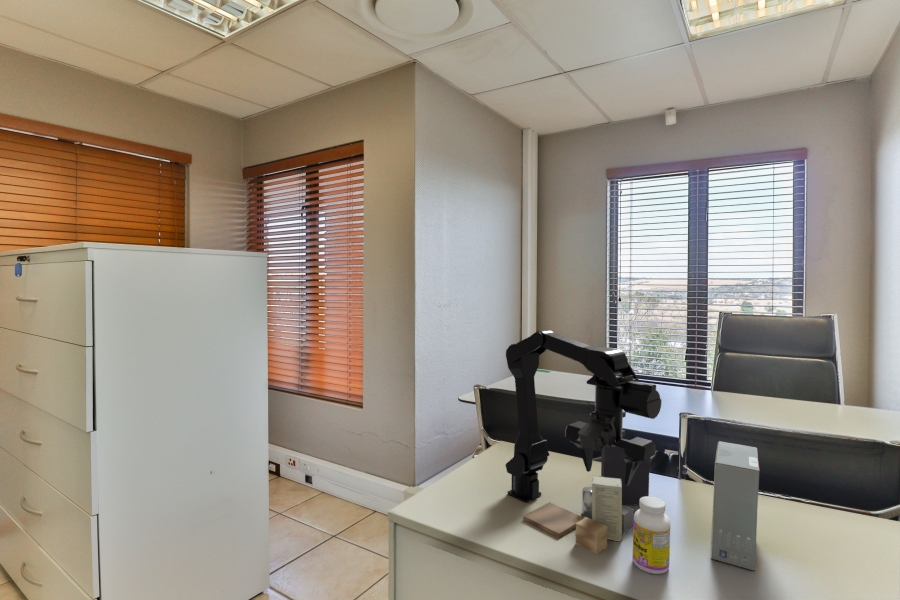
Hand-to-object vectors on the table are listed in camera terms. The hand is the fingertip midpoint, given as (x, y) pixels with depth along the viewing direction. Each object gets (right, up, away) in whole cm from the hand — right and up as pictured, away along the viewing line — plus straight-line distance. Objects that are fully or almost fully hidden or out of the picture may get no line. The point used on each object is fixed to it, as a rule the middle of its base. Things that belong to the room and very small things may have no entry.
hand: (607, 477), depth 102 cm
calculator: (+10, -12, +16) cm, 22 cm away
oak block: (-4, -13, -3) cm, 14 cm away
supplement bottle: (+5, -14, -10) cm, 18 cm away
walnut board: (-10, -12, +6) cm, 17 cm away
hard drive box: (+25, -13, -4) cm, 29 cm away
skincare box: (0, -13, +1) cm, 13 cm away
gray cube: (+5, -13, +5) cm, 14 cm away
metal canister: (-1, -12, +9) cm, 15 cm away
